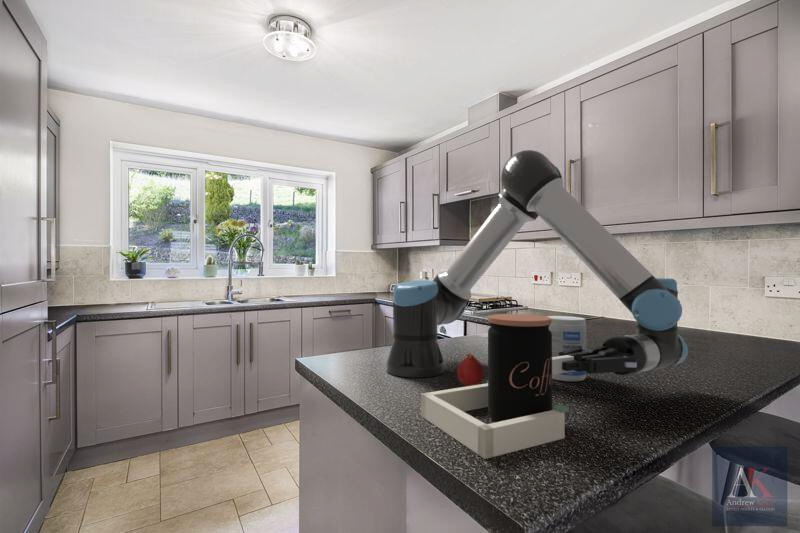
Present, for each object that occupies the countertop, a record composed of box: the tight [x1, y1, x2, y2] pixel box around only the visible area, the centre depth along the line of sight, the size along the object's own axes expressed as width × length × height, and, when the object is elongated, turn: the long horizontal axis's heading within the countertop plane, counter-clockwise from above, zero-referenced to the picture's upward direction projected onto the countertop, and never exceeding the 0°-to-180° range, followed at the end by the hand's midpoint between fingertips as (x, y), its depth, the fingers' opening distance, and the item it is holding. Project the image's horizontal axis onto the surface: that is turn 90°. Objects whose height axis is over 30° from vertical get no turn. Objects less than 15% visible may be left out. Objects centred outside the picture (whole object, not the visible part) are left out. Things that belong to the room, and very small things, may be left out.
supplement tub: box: [546, 315, 587, 383], centre depth 96 cm, size 10×10×15 cm
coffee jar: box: [487, 313, 553, 423], centre depth 68 cm, size 11×11×18 cm
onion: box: [456, 352, 485, 387], centre depth 86 cm, size 6×6×8 cm
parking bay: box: [420, 379, 570, 460], centre depth 66 cm, size 18×16×5 cm
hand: (545, 366), depth 70 cm, fingers closed
